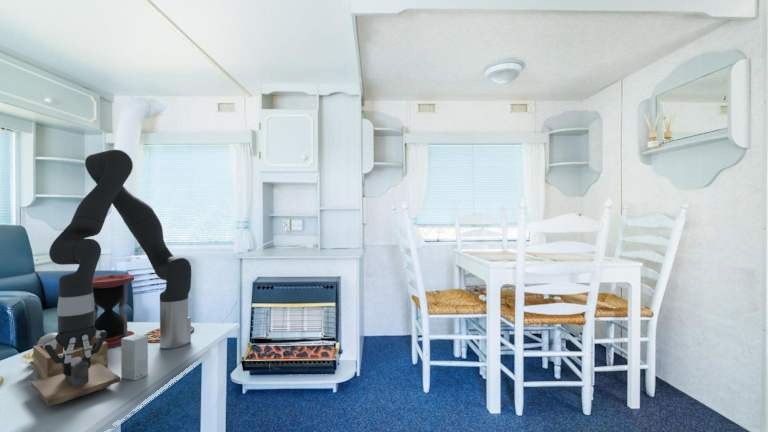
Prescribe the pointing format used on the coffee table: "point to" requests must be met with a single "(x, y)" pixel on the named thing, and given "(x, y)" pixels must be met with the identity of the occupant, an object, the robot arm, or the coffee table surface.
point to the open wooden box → (49, 368)
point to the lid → (75, 382)
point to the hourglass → (111, 306)
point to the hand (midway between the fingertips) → (76, 372)
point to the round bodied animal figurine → (47, 338)
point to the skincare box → (134, 357)
